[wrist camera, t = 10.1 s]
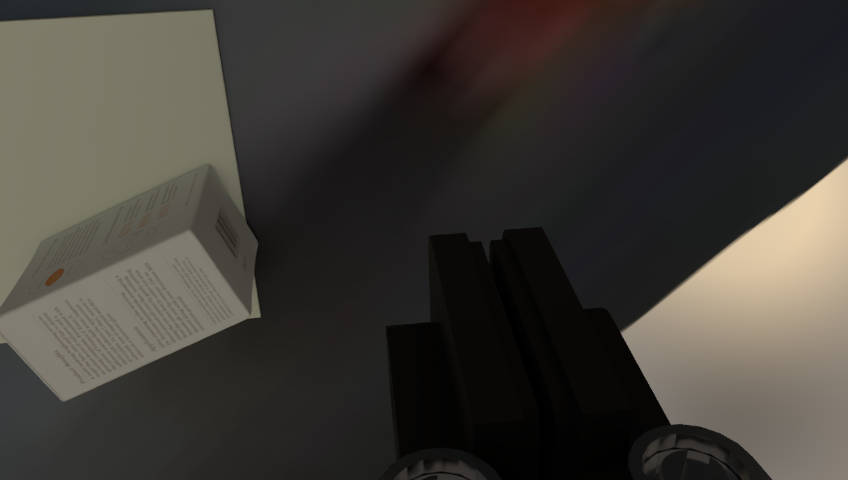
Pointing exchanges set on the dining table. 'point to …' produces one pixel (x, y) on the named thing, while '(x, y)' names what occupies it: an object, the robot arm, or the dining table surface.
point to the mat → (104, 120)
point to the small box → (132, 285)
